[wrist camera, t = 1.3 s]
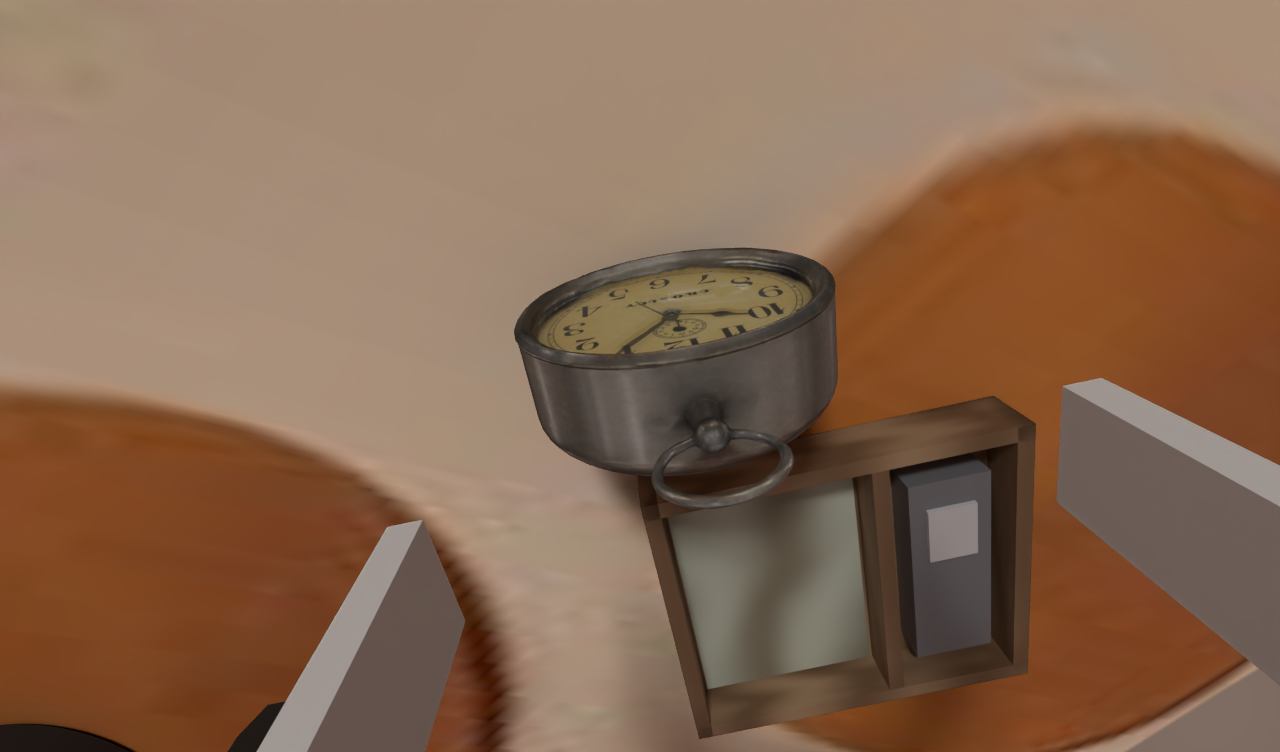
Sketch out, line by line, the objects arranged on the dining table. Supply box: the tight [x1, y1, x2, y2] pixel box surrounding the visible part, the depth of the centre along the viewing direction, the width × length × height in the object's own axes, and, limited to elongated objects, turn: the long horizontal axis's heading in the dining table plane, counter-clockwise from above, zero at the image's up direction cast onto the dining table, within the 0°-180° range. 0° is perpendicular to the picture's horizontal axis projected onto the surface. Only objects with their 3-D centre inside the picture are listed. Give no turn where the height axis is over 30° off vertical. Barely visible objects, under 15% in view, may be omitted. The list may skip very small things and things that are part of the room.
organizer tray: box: [638, 396, 1036, 739], centre depth 32 cm, size 18×16×3 cm
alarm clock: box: [514, 248, 838, 509], centre depth 20 cm, size 11×5×16 cm, turn 100°
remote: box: [890, 453, 991, 658], centre depth 32 cm, size 4×11×2 cm, turn 12°
